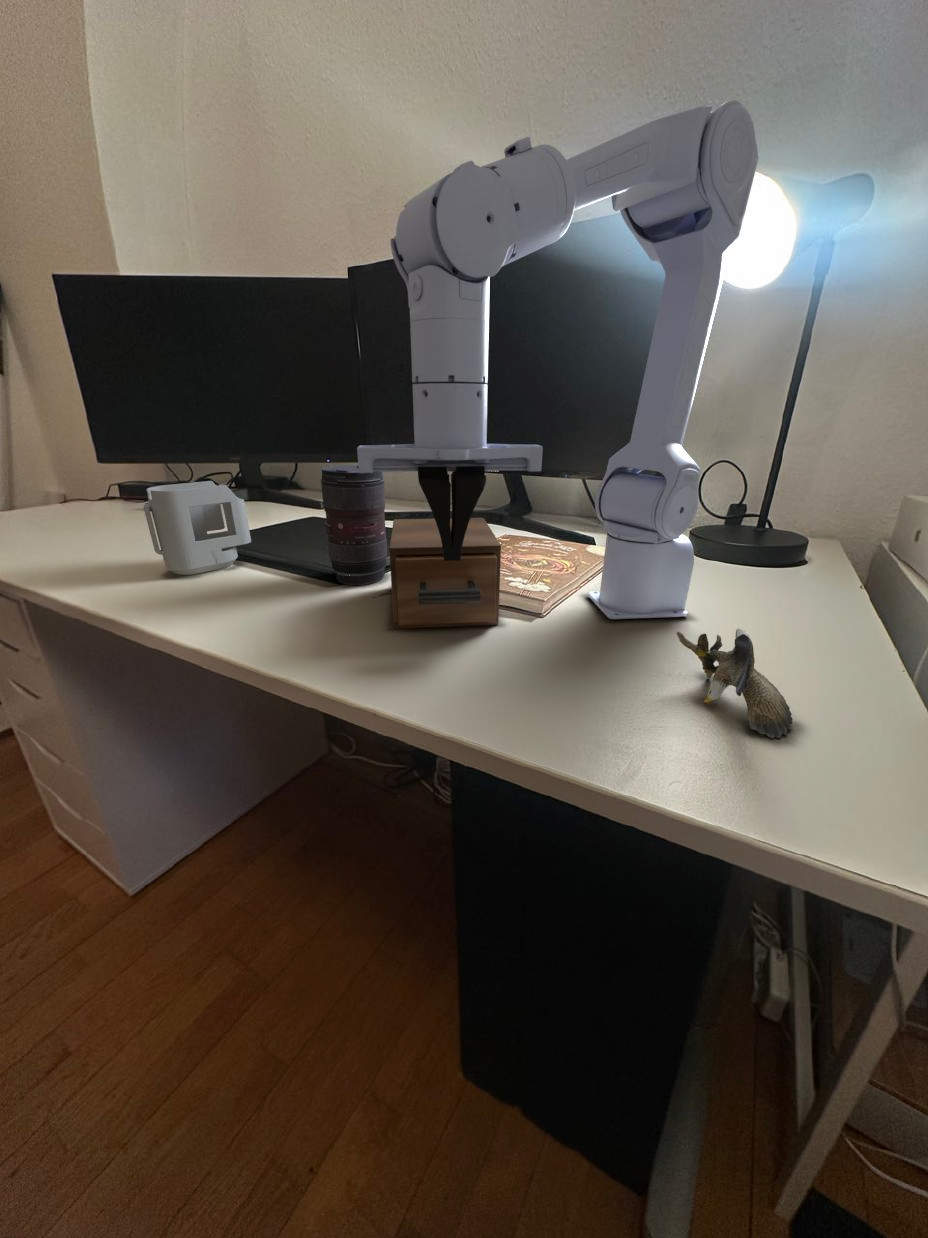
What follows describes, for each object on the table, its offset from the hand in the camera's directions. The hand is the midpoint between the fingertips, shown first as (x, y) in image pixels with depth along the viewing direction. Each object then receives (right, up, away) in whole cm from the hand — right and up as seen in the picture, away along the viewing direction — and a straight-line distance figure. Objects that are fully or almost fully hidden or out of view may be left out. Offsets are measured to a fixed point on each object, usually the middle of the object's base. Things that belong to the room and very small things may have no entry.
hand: (451, 557), depth 43 cm
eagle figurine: (+23, -12, -2) cm, 26 cm away
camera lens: (-13, 0, +27) cm, 30 cm away
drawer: (-1, -4, +14) cm, 15 cm away
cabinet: (-1, -3, +18) cm, 18 cm away
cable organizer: (-37, +2, +31) cm, 48 cm away
